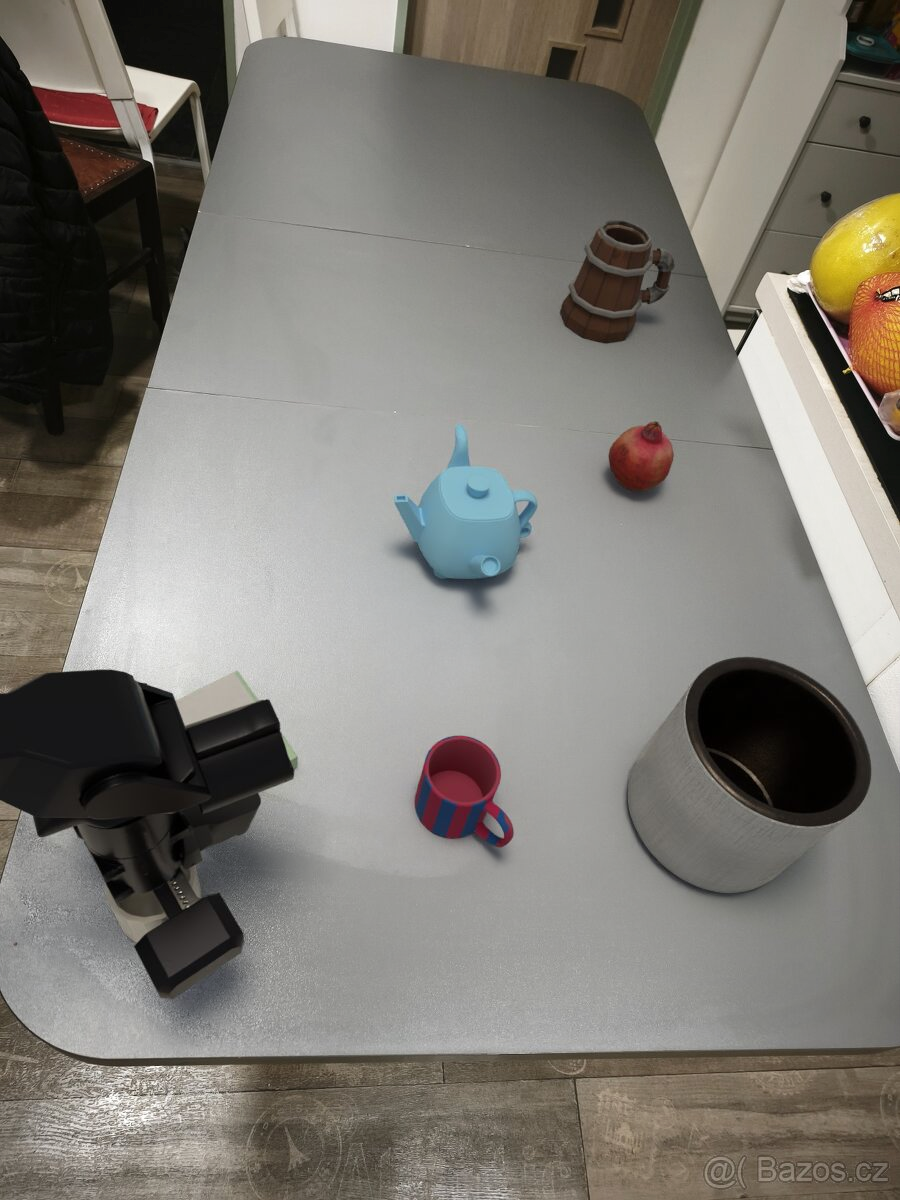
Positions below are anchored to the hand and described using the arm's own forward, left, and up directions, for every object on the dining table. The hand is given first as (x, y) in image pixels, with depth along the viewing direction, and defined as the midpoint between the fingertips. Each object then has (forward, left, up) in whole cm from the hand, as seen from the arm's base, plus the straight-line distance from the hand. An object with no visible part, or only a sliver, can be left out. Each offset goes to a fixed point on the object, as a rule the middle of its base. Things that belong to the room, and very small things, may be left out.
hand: (157, 898), depth 64 cm
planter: (+45, -21, -2) cm, 50 cm away
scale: (+10, +10, -2) cm, 14 cm away
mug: (+98, +45, -2) cm, 108 cm away
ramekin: (0, 0, -2) cm, 2 cm away
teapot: (+45, +18, -2) cm, 48 cm away
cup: (+25, -8, -2) cm, 26 cm away
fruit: (+73, +16, -2) cm, 75 cm away
